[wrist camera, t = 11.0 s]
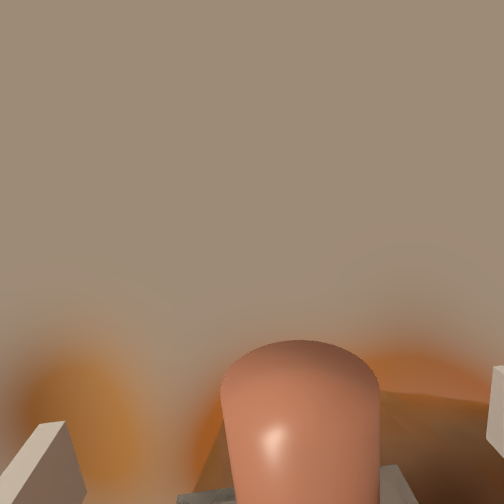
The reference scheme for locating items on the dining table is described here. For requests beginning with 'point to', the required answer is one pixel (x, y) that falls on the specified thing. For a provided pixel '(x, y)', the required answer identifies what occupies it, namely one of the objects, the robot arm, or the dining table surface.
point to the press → (391, 491)
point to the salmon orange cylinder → (302, 425)
